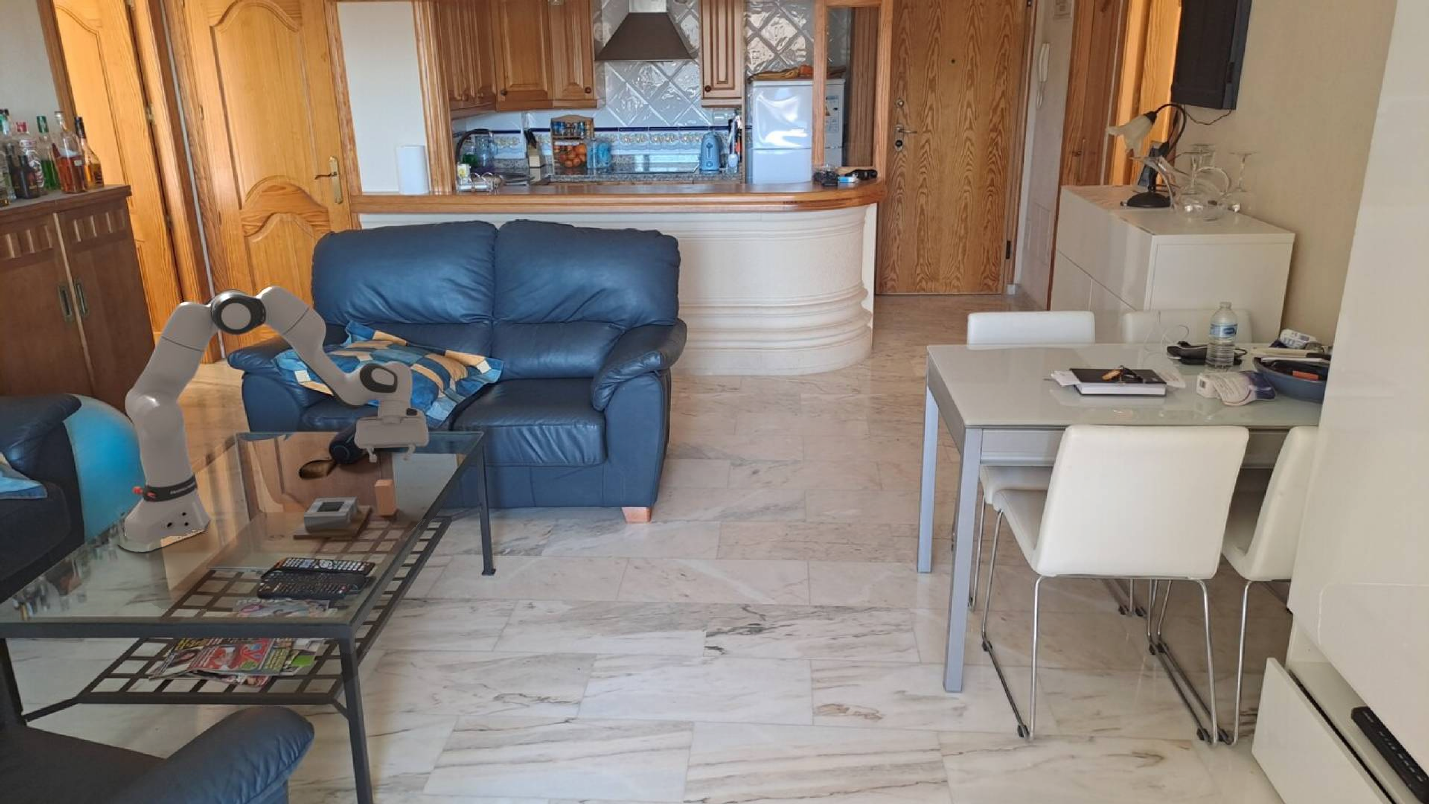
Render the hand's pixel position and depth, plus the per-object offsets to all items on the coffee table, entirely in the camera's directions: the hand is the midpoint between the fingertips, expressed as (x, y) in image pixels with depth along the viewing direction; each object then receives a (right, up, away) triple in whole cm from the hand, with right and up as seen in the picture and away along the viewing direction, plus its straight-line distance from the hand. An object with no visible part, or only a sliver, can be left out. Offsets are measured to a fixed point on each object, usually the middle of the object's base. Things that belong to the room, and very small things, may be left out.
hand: (389, 460), depth 275 cm
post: (+1, -14, -3) cm, 15 cm away
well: (-12, -16, -9) cm, 23 cm away
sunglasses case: (-30, -4, +27) cm, 40 cm away
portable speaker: (-21, +1, +37) cm, 42 cm away
